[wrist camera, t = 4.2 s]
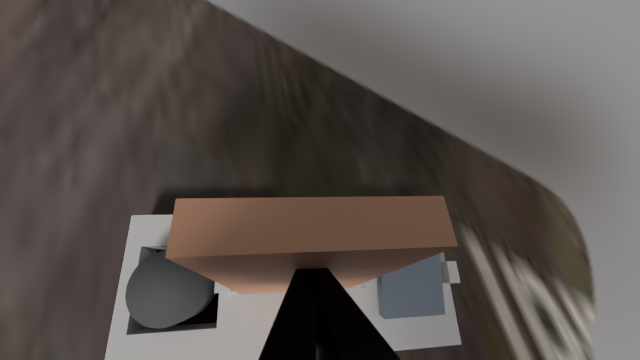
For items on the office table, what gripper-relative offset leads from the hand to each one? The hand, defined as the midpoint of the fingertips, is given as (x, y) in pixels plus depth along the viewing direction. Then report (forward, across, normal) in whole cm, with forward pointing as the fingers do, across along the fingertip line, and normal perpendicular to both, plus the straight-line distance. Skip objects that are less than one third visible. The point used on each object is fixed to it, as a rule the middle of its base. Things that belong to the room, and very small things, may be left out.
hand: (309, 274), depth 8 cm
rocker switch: (+5, -6, +5) cm, 10 cm away
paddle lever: (+5, 0, +6) cm, 8 cm away
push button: (+7, +6, +7) cm, 12 cm away
